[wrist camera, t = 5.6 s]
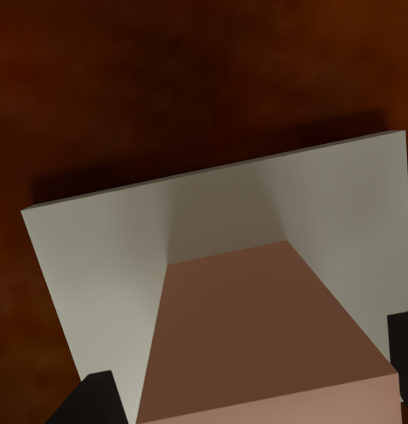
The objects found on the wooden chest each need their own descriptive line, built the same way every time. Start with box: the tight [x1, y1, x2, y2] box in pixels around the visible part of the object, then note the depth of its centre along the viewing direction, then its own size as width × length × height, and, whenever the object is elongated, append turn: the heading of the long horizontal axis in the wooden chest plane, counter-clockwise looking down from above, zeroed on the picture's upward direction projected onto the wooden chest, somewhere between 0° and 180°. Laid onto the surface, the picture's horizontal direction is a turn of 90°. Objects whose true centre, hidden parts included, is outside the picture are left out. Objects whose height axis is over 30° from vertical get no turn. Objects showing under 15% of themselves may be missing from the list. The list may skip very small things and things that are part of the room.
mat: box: [21, 130, 408, 424], centre depth 12 cm, size 12×10×1 cm
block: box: [136, 240, 402, 424], centre depth 8 cm, size 4×4×6 cm
